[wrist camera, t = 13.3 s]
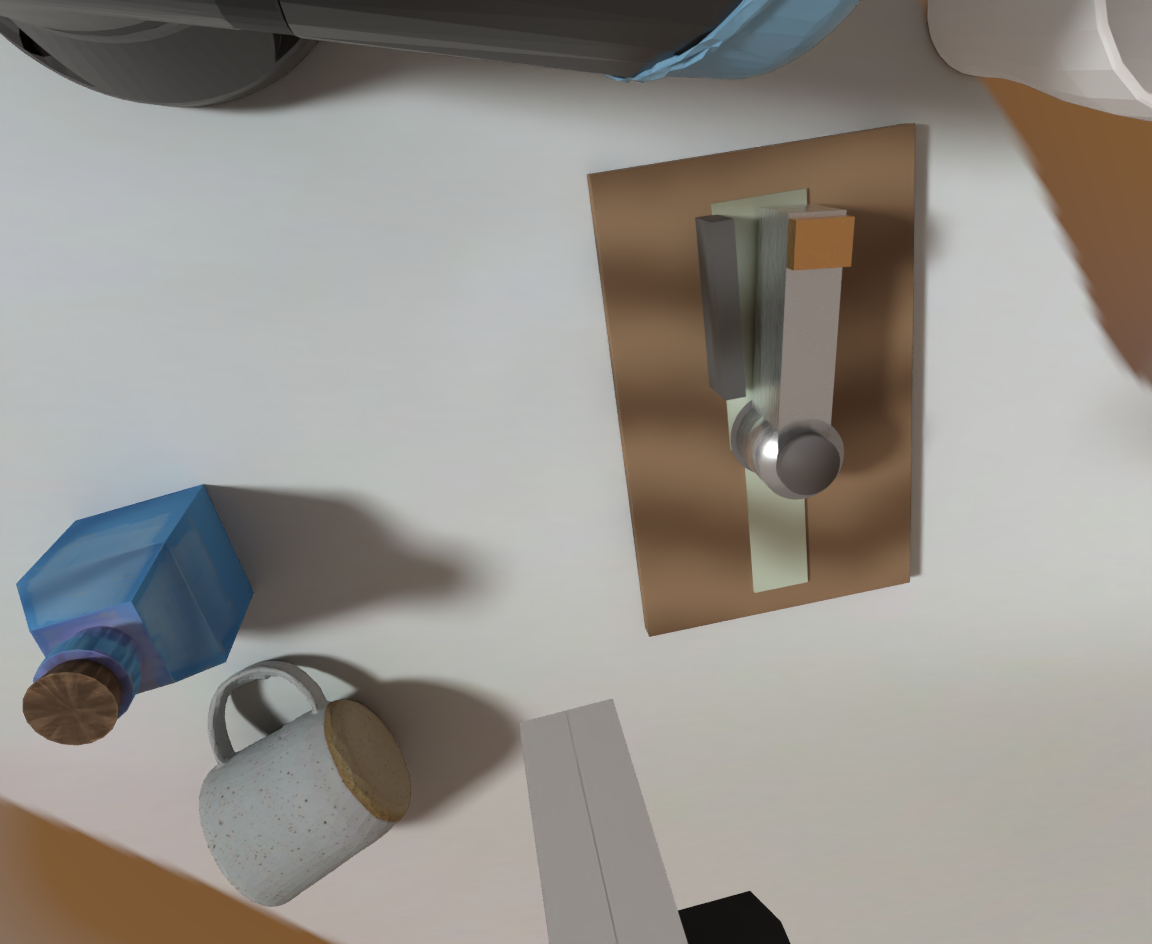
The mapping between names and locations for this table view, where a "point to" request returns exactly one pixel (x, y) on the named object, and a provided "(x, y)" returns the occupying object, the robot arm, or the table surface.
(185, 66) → the robot arm
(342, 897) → the table surface
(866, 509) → the lock board
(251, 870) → the ceramic mug
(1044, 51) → the cup
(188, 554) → the perfume bottle
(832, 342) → the swing bar
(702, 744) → the table surface
